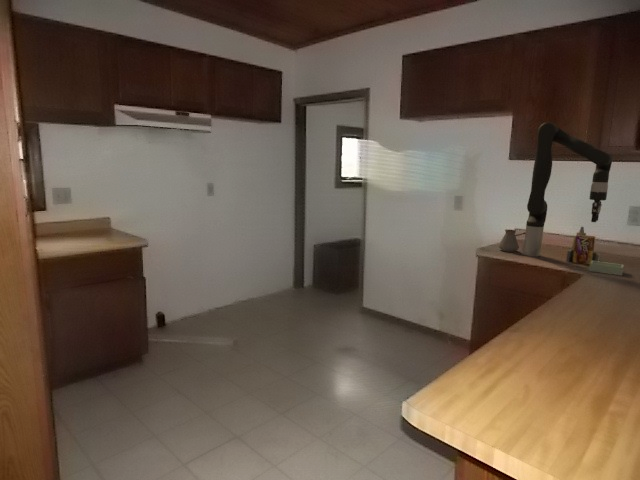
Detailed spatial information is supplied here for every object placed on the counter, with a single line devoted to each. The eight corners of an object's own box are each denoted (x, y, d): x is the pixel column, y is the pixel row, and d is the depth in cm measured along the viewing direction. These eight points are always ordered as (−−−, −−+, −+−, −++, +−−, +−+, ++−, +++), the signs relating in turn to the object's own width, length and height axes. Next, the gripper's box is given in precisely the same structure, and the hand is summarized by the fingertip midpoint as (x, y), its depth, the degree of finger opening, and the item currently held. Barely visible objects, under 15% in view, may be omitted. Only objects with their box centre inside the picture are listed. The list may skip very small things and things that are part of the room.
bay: (566, 261, 236) (567, 251, 235) (568, 259, 242) (569, 249, 241) (596, 266, 227) (598, 255, 226) (598, 263, 233) (600, 252, 232)
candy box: (591, 263, 233) (596, 236, 230) (591, 264, 230) (595, 237, 227) (573, 261, 238) (576, 234, 235) (572, 262, 235) (576, 235, 232)
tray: (588, 270, 216) (589, 263, 215) (590, 267, 222) (591, 260, 222) (621, 275, 208) (622, 267, 207) (622, 272, 214) (623, 264, 214)
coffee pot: (497, 251, 260) (499, 226, 257) (499, 248, 270) (501, 224, 267) (536, 255, 250) (539, 230, 247) (536, 252, 260) (539, 228, 257)
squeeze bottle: (581, 256, 253) (586, 226, 250) (588, 259, 245) (593, 228, 242) (567, 255, 254) (571, 225, 251) (574, 258, 246) (578, 227, 243)
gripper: (592, 190, 233) (588, 219, 236) (588, 191, 222) (584, 221, 225) (608, 191, 228) (604, 221, 231) (606, 191, 217) (601, 223, 220)
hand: (594, 221), depth 228 cm, fingers open, 8 cm apart
